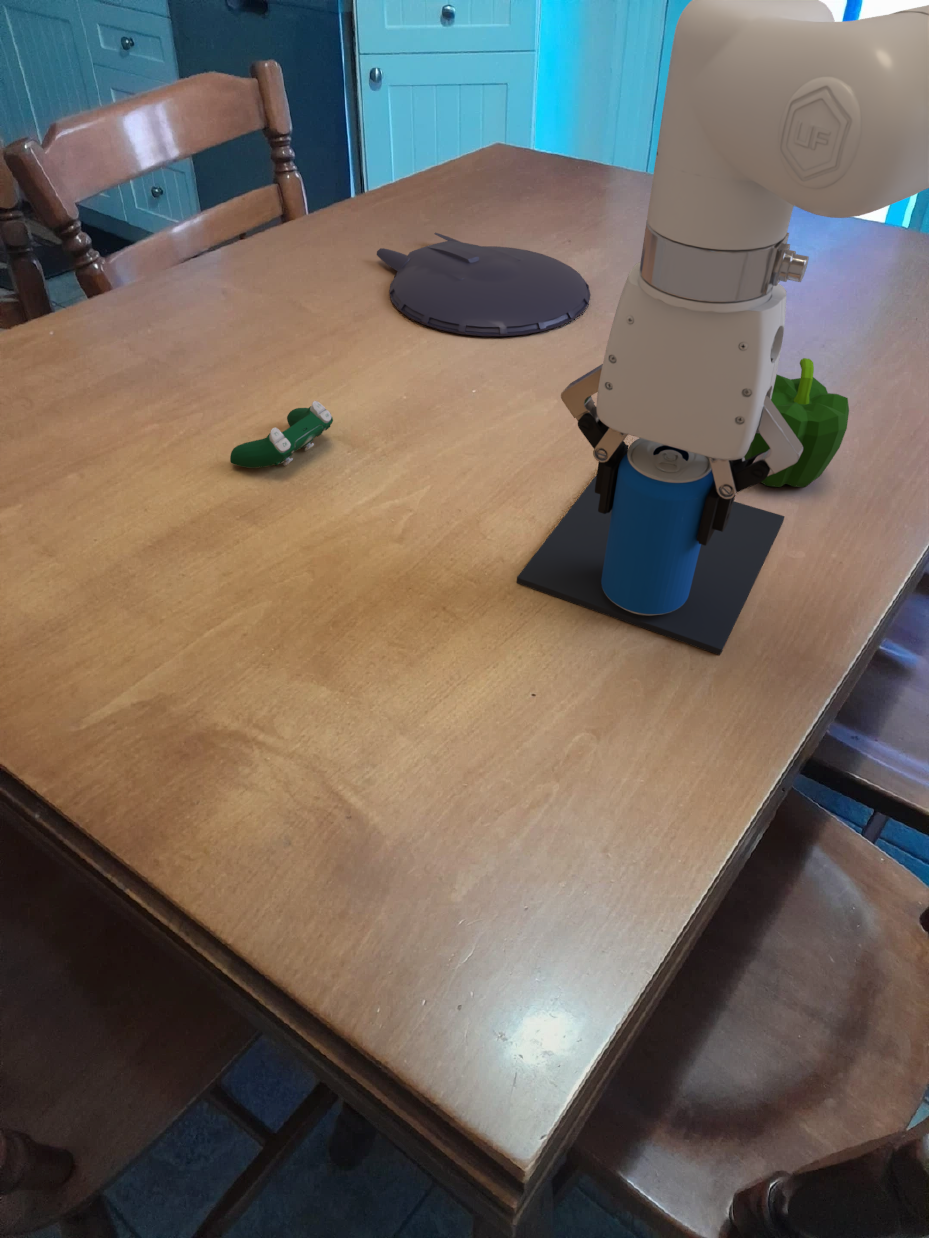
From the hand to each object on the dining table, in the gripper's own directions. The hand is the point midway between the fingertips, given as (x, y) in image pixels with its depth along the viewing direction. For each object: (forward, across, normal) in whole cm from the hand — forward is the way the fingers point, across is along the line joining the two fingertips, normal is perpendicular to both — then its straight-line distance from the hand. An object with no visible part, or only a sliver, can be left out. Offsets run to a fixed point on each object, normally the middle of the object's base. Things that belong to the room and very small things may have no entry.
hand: (658, 516), depth 62 cm
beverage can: (+7, 0, 0) cm, 7 cm away
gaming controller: (+8, +35, -3) cm, 36 cm away
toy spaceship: (+8, +37, -44) cm, 58 cm away
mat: (+8, +1, -6) cm, 10 cm away
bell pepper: (+8, -5, -22) cm, 24 cm away
